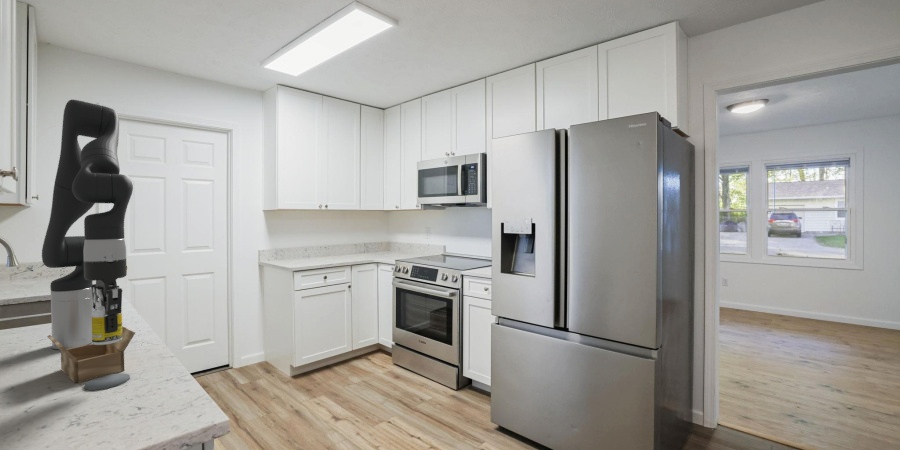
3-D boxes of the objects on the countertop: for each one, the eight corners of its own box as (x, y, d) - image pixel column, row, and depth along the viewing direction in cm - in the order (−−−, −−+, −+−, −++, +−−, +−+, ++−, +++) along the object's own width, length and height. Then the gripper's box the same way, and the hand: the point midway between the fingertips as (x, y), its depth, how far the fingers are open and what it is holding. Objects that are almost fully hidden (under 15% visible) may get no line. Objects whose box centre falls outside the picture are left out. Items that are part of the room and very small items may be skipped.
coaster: (80, 384, 91) (80, 381, 91) (123, 373, 98) (123, 370, 98) (90, 393, 87) (89, 390, 87) (134, 381, 93) (134, 378, 93)
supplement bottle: (104, 346, 89) (103, 303, 89) (85, 345, 90) (84, 302, 90) (128, 339, 94) (127, 298, 94) (110, 337, 95) (109, 297, 95)
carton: (47, 372, 98) (46, 335, 98) (119, 356, 110) (118, 322, 109) (60, 387, 90) (59, 346, 90) (136, 367, 101) (135, 331, 101)
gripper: (76, 258, 93) (77, 328, 93) (92, 261, 84) (94, 339, 85) (116, 255, 99) (118, 321, 99) (135, 258, 90) (137, 330, 91)
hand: (107, 329), depth 92 cm, fingers closed on supplement bottle, 5 cm apart
